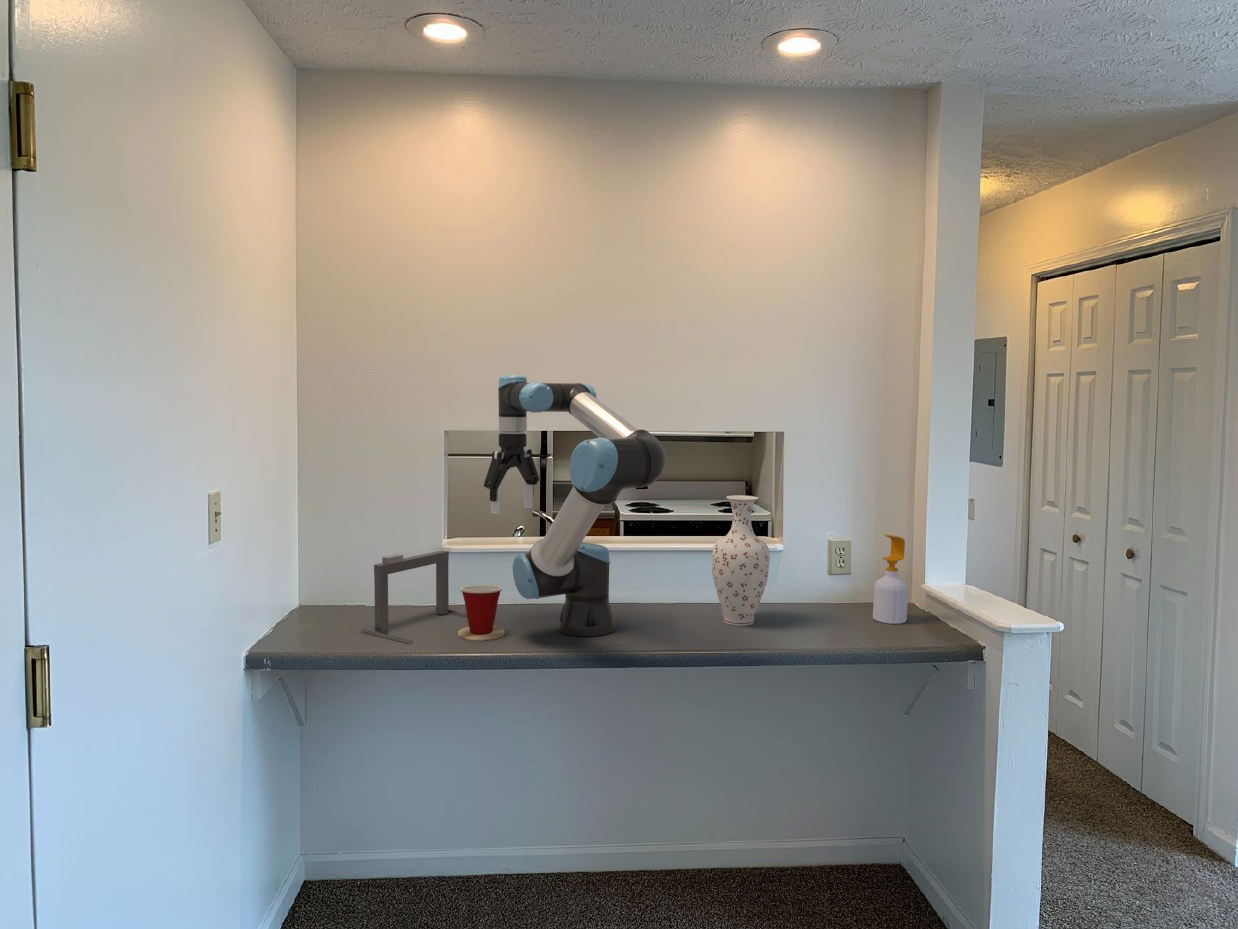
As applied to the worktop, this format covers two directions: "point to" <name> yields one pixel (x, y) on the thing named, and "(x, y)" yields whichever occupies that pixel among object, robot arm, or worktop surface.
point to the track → (401, 638)
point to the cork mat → (495, 634)
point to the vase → (740, 565)
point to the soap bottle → (891, 588)
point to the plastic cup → (481, 607)
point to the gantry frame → (401, 564)
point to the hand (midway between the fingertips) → (512, 510)
